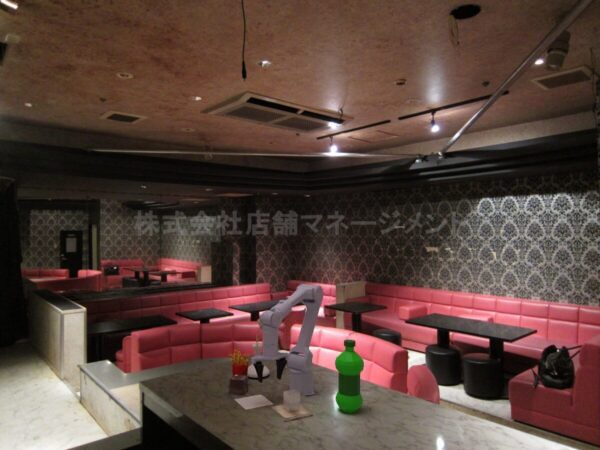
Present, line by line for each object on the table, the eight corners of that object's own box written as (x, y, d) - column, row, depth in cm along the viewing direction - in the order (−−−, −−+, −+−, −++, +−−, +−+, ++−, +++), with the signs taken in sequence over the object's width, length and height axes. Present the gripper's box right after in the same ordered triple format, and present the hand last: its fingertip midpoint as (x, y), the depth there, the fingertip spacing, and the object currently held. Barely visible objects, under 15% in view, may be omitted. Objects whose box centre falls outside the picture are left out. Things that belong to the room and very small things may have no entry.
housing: (294, 406, 153) (294, 389, 153) (300, 410, 149) (300, 393, 149) (283, 408, 151) (283, 391, 151) (289, 412, 147) (289, 395, 147)
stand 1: (260, 398, 164) (260, 394, 164) (273, 408, 155) (273, 404, 155) (234, 403, 159) (234, 399, 159) (245, 413, 149) (245, 409, 149)
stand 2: (297, 405, 157) (297, 401, 157) (313, 416, 148) (313, 411, 148) (271, 411, 152) (271, 406, 152) (285, 422, 142) (285, 418, 142)
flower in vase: (268, 380, 186) (269, 323, 187) (242, 379, 186) (243, 322, 187) (270, 371, 199) (271, 317, 200) (246, 370, 199) (247, 317, 200)
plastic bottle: (346, 402, 161) (347, 336, 162) (368, 410, 154) (369, 341, 155) (329, 409, 154) (329, 340, 155) (351, 418, 147) (352, 345, 148)
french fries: (248, 384, 180) (249, 348, 181) (247, 391, 172) (247, 353, 172) (228, 384, 180) (229, 348, 180) (225, 391, 171) (226, 353, 172)
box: (243, 399, 163) (243, 380, 163) (228, 398, 164) (229, 378, 164) (248, 394, 169) (249, 375, 169) (234, 392, 170) (234, 374, 170)
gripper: (257, 348, 150) (256, 386, 150) (292, 343, 158) (291, 380, 157) (249, 343, 156) (248, 380, 156) (283, 339, 164) (283, 375, 163)
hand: (269, 380), depth 157 cm, fingers open, 7 cm apart
